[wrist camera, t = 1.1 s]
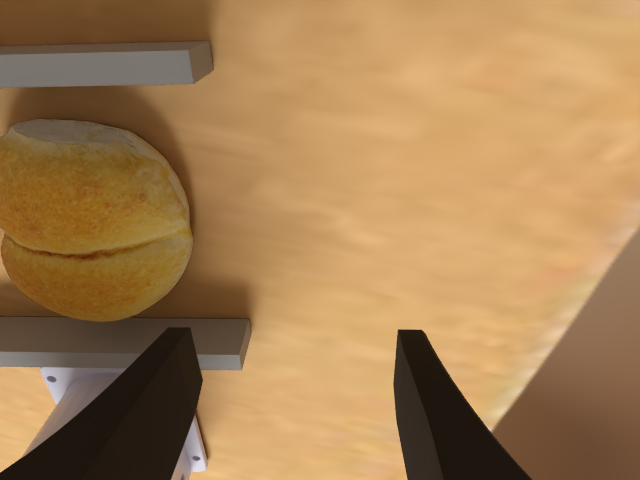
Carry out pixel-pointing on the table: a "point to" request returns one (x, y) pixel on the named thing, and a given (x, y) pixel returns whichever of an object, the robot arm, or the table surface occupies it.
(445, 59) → the table surface
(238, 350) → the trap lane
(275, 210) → the table surface
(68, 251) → the bread roll
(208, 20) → the table surface
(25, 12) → the table surface
